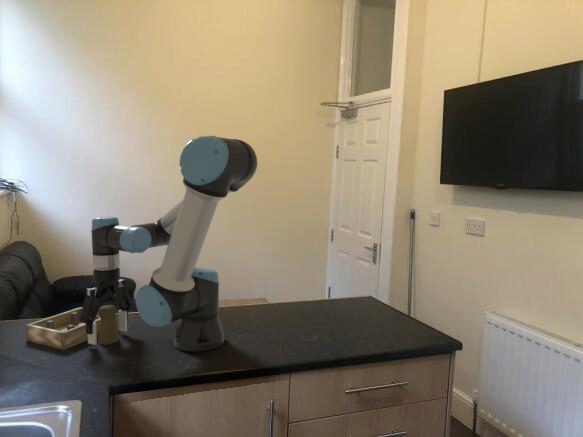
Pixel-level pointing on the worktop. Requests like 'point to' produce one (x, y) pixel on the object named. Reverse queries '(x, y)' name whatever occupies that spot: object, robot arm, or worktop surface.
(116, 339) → the cork
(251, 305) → the worktop surface
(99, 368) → the worktop surface
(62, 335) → the socket box
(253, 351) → the worktop surface
